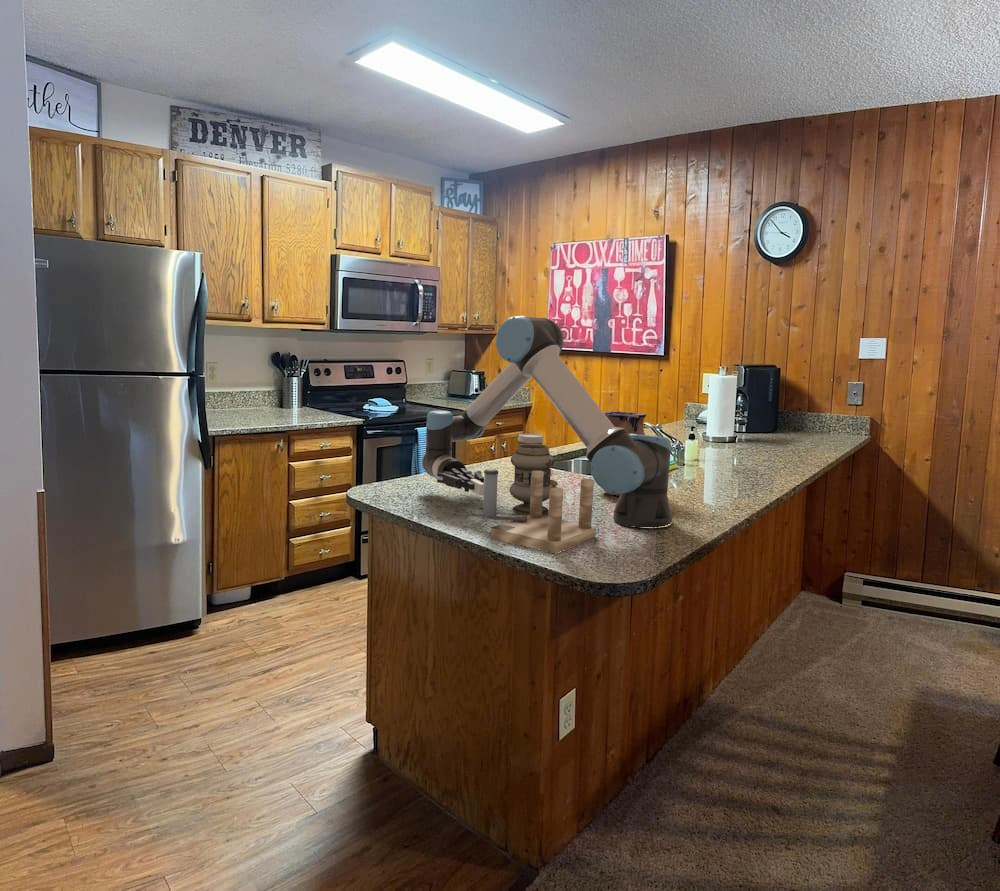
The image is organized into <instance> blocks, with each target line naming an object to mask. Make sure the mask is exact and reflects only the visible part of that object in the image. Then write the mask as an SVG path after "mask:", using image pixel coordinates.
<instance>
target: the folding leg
mask: <svg viewBox="0 0 1000 891" xmlns="http://www.w3.org/2000/svg"><path fill="white" fill-rule="evenodd" d="M483 473H484V476H483V477H484V495H483V505H482V506H483V507H482V508H483V509H482V516H485V517H486V520H501V521H513V520H514V521H527V516H528V515H525V514H518V515H513V514H499V513H498V514H497V505H498V504H497V500H498V480H499V479H498V477H499V476H498V475H499V470H498V469H493V468H489V469H488V468H487V469H484V471H483Z"/></svg>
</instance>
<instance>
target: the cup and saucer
mask: <svg viewBox="0 0 1000 891" xmlns="http://www.w3.org/2000/svg"><path fill="white" fill-rule="evenodd" d="M551 472H552V469H551V468H550V472H549V480H550V484H551V485H552V487H553V488H557V486H558V485H559V484H558V481H556V480H553V479H551V476H552V474H551Z"/></svg>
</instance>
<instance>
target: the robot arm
mask: <svg viewBox="0 0 1000 891" xmlns="http://www.w3.org/2000/svg"><path fill="white" fill-rule="evenodd" d="M495 347H496V350H497V353H498V355H499V356H500V357H501V358H502V359H503V360H504V361H506V362H507V363H508V364H507V366H505V367H504V369H502V370H501V372H500V373H499V374H498V375H497V376H495V377H494V379H493V380H492V381H491V382H490V383H489V384H488V386H486V388H485V389H484V390H483V391H482V392H481V393H480V394H479V395H478V396H477V397H476V398H475V399H474V401H472V402H471V403H470V404H469V406H468V407H467V408H466V409H465V410H464V411H463V412H462V413H461V414H459V415H454V414H453V413H452V412H451V411H449V410H431V411H429V412H427V414H426V425H425V428H426V430H425V431H426V433H425V437H426V438H425V452H424V454H423V455H422V457H421V462H420V463H421V467H422V469H423V470H424V471H425V473H426V475H429V476H430V477H433V478H435V479H436V483H439V484H444V485H445V486H448V487H450V488H455V489H458V490H460V489H461V490H462V489H464V492H466V493H467V492H468V493H469V492H470V491H471V492H474V494H476V495H478V496H484V476H483V475H482V471H480V470H477V471H474V473H472V471H471V470H469V469H467V467H466V465H465V464H464V463H463V462H462V461H460V460H458V459H456V458H455V457H452V456H453V455H452V450H453V443H454V442H460V441H466V440H467V441H468V440H475V439H477V438H479V437H482V435H484V433H485V430H486V427H487V426H486V425H487V424H488V423H489V422H490V421H491V420H492V419H493V418H494V417H495V416H496V415H497V414H498V413H499V412H500V411H501V410H503V408H504V407H505V406H506V405H507V404H509V402H510V401H511V400H512V399H513V398H514V397H515V396H516V395H518V393H519V392H520V391H521V390H522V389H523V388H524V387H525V386H526V385H527V383H529V382H530V380H532V379H534V380H535V382H536V383H537V385H538V386H539V387H540V389H541V390H542V391H543V392H544V394H545V395H546V396H547V397H548V398H549V401H551V403H552V404H553V406H554V407H555V408H556V409H557V411H558V412H559V413H560V414H561V416H562V417H563V418H564V420H565V421H566V422H567V424H568V425H569V426H570V427H571V429H572V430H573V432H574V433H575V434H576V436H577V437H578V438H579V439H580V441H581V442H582V443H583V445H584V446H585V447H586V454H585V455H586V459H587V460H588V461H589V462H590V467H591V470H590V472H591V476H592V478H593V480H594V482H595V483H596V484H597V486H598V487H600V488H601V489H602V490H603V489H604V490H606V491H608V492H611V493H621V495H620V496H618V497H619V498H618V500H617V503H616V505H615V508H614V510H613V518H612V519H614V520H613V521H614V522H615V523H617V524H619V523H620V524H619V525H621V524H623V525H622V526H624V525H627V526H626V527H629V526H635V527H659V526H665V525H668V524H670V523H671V522H672V523H673V513H672V509H671V505H670V501H669V497H668V488H669V487H668V486H669V476H670V475H669V474H670V466H671V454H672V447H671V446H672V444H671V443H672V442H671V440H670V438H668V437H663V436H655V435H646V434H645V435H640V434H630V433H629V434H628V433H627V432H626V430H625V429H624V428H618V427H615V426H614V425H613V424H612V423H611V422H610V420H609V419H608V418H607V416H606V415H605V414H604V413H605V412H604V411H603V410H602V409H601V407H600V406H599V405H598V404H597V402H596V401H595V400H594V398H592V395H590V393H589V392H588V391H587V389H585V387H584V386H583V384H582V383H581V382H580V381H579V380H578V379H577V377H576V376H575V374H573V372H572V371H571V370H570V368H569V367H568V365H567V364H566V363H565V362H564V360H563V359H562V358H561V357H560V354H561V352H562V350H563V347H564V334H563V331H562V329H561V328H560V326H559V325H558V324H557V323H556V322H555V321H554V320H552V319H549V318H545V317H532V316H525V315H517V316H510V317H509V318H506V320H504V321H503V322H502V323H501V325H500V326H499V327H498V330H497V332H496V339H495ZM604 490H603V491H604Z"/></svg>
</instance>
